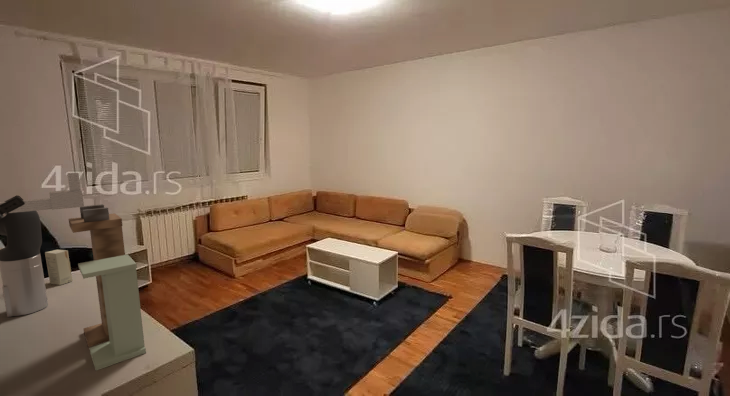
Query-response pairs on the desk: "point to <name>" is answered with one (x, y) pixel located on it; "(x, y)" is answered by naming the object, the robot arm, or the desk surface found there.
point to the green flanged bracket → (118, 309)
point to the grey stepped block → (57, 198)
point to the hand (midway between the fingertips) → (21, 199)
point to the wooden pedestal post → (100, 255)
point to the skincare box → (58, 266)
